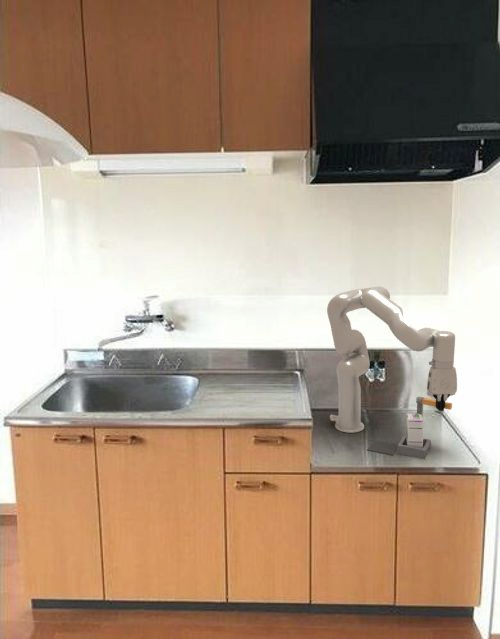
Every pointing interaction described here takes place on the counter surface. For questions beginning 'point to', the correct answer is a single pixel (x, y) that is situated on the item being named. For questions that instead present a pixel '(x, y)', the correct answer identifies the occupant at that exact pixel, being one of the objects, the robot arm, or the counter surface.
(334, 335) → the robot arm
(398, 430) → the counter surface
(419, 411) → the clip post
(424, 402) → the bar
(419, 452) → the collar
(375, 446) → the mat
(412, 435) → the syrup box
